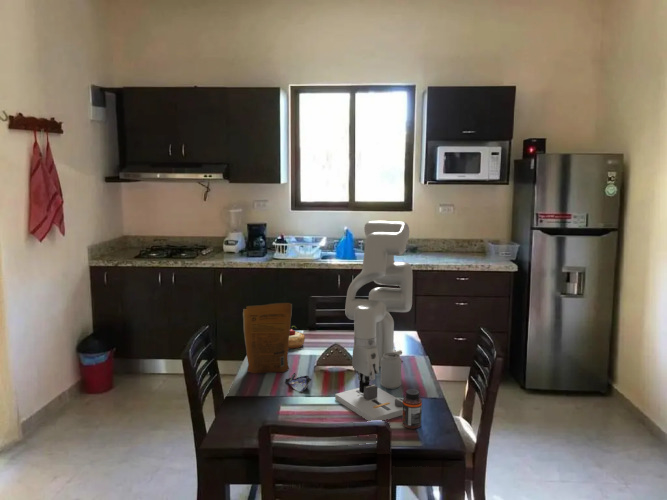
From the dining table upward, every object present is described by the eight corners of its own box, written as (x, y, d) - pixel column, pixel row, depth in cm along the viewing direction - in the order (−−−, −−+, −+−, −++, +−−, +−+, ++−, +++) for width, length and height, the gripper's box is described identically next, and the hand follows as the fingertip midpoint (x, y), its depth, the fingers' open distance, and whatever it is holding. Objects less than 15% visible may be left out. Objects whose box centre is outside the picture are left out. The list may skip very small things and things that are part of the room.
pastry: (273, 347, 252) (272, 328, 251) (288, 340, 262) (287, 321, 261) (294, 351, 246) (293, 332, 244) (310, 343, 256) (309, 324, 254)
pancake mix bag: (293, 373, 221) (292, 304, 216) (244, 376, 218) (242, 305, 214) (292, 367, 227) (291, 299, 223) (244, 369, 225) (242, 301, 220)
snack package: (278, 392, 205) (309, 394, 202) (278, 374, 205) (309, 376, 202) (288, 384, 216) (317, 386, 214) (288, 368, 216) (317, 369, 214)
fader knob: (373, 394, 195) (373, 383, 194) (377, 397, 193) (377, 385, 193) (363, 397, 193) (363, 385, 192) (367, 400, 191) (368, 388, 190)
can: (402, 383, 212) (403, 352, 210) (398, 391, 205) (399, 359, 203) (383, 380, 214) (383, 350, 212) (378, 388, 207) (378, 357, 205)
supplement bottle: (400, 421, 181) (401, 387, 180) (418, 420, 182) (419, 387, 180) (404, 429, 176) (405, 395, 174) (423, 429, 176) (424, 395, 174)
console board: (371, 389, 206) (372, 379, 205) (411, 412, 188) (411, 401, 187) (335, 399, 197) (335, 389, 197) (373, 424, 179) (373, 413, 179)
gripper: (387, 345, 189) (386, 396, 192) (361, 333, 201) (360, 382, 204) (369, 349, 185) (368, 401, 188) (343, 337, 197) (343, 386, 200)
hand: (364, 391), depth 196 cm, fingers closed
